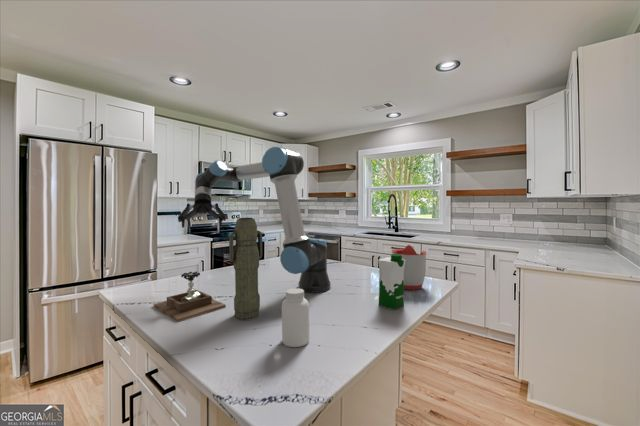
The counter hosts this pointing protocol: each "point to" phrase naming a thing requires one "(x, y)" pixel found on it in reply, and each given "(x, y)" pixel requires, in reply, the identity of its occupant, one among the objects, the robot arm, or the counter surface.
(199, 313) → the dock board
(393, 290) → the milk carton
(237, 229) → the thermos
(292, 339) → the pill bottle
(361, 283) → the counter surface
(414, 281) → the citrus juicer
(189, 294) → the valve
